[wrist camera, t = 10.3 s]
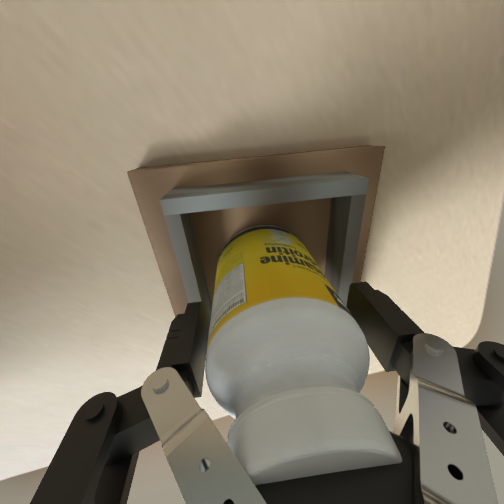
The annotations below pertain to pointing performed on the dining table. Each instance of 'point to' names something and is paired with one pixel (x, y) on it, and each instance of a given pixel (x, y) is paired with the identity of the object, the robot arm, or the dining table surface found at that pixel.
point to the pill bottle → (289, 364)
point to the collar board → (258, 213)
